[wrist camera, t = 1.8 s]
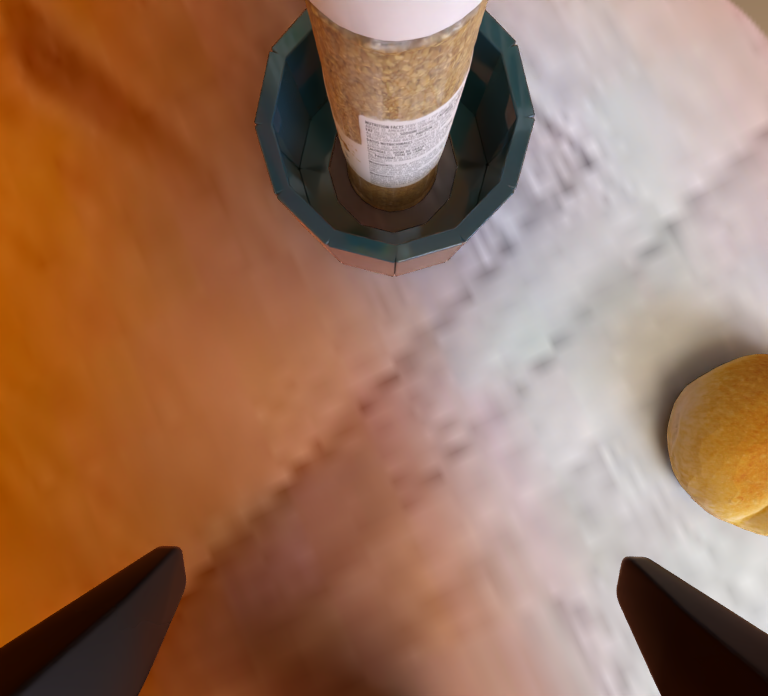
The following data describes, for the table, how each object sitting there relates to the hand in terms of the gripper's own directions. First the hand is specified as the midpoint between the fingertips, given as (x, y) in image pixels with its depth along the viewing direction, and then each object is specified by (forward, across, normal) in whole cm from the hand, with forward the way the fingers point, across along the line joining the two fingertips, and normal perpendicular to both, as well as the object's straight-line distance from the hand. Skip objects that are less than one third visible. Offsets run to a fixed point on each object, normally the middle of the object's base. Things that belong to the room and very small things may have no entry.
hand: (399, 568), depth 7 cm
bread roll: (+12, -18, +3) cm, 22 cm away
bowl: (+14, 0, -10) cm, 17 cm away
